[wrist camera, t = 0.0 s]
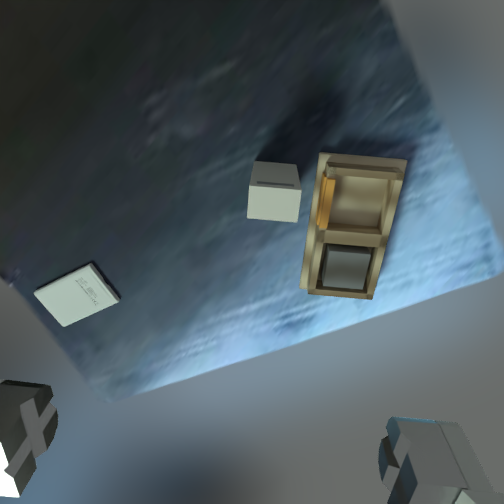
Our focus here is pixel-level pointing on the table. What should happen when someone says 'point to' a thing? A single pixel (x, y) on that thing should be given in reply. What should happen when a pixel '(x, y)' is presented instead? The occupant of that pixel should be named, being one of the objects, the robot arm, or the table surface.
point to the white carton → (274, 192)
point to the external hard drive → (77, 295)
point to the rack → (350, 223)
